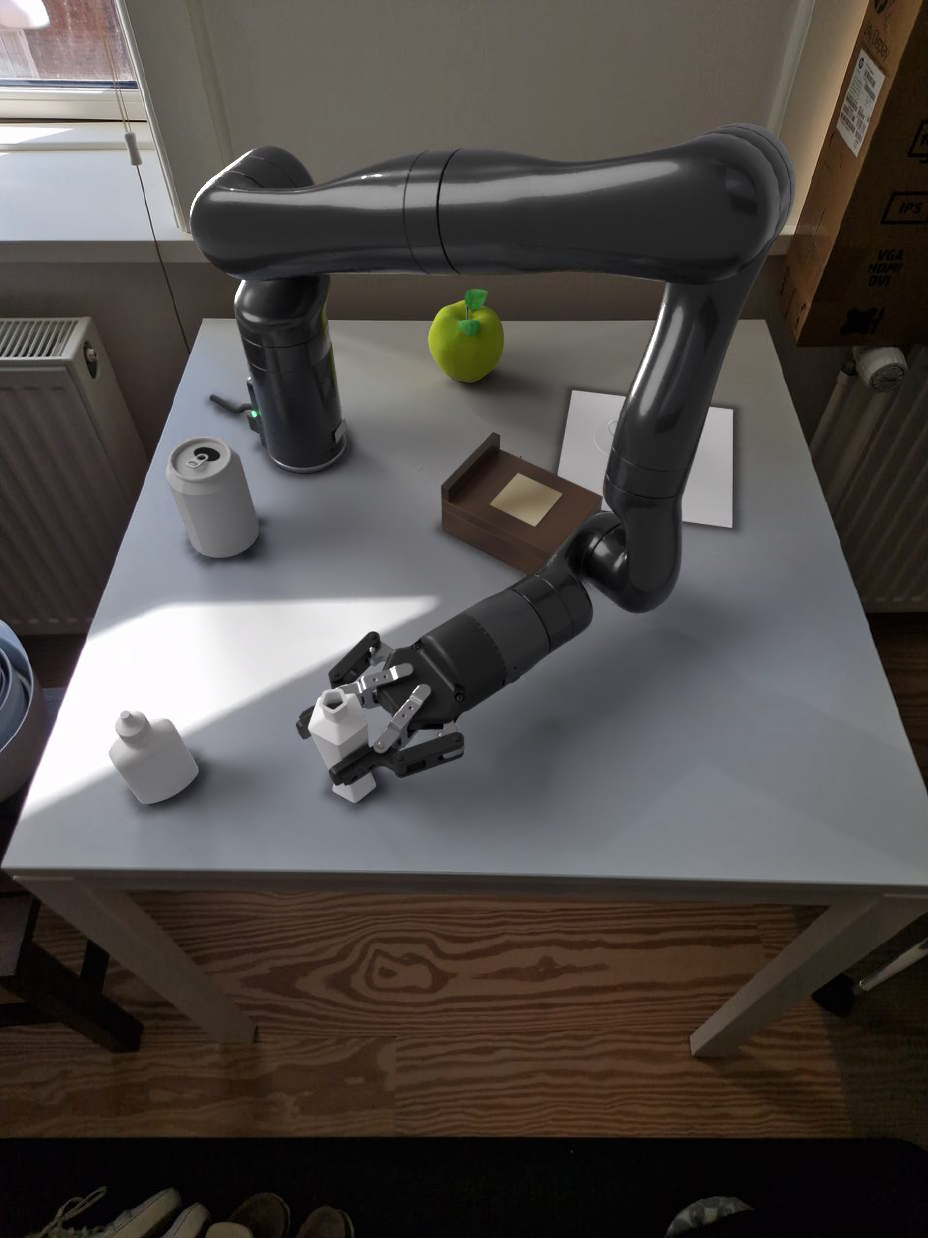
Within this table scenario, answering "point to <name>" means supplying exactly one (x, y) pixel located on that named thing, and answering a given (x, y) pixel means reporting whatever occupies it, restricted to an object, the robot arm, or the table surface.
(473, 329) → the fruit
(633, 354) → the table surface
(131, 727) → the eye dropper bottle
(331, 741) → the white faceted vase
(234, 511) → the can
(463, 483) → the wooden display stand
